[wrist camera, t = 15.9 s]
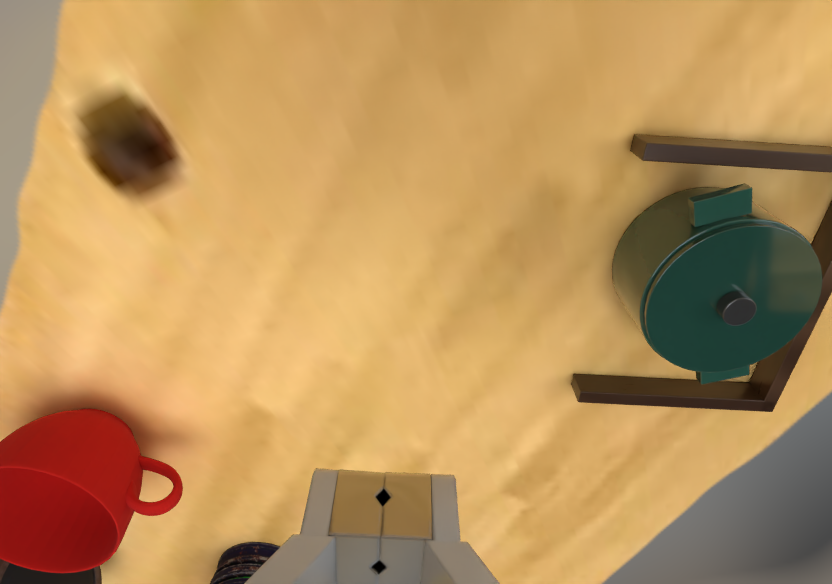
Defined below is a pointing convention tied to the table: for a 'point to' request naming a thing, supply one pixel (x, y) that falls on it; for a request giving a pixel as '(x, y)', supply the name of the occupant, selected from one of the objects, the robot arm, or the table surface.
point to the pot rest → (769, 371)
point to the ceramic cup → (73, 490)
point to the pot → (715, 280)
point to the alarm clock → (46, 576)
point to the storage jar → (242, 562)
